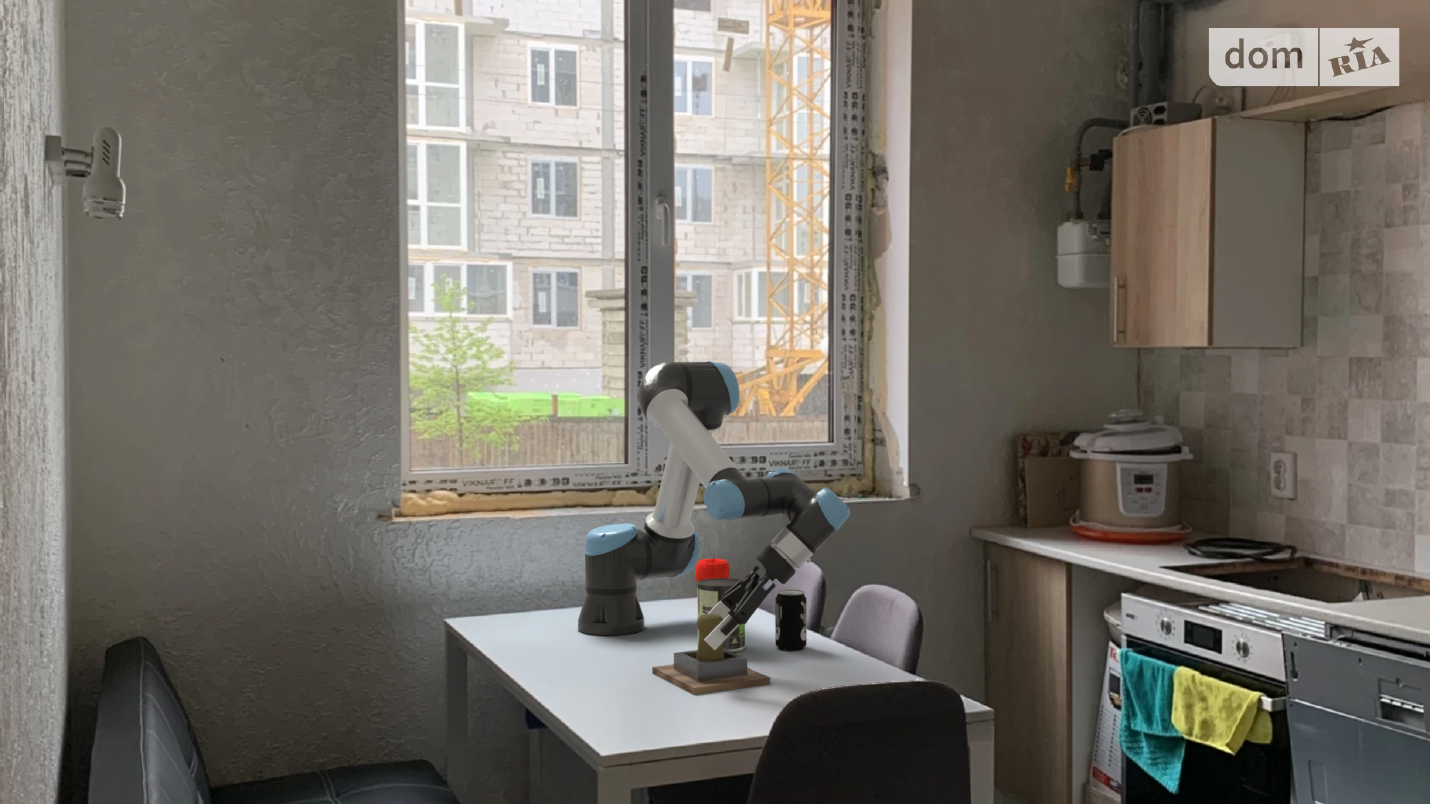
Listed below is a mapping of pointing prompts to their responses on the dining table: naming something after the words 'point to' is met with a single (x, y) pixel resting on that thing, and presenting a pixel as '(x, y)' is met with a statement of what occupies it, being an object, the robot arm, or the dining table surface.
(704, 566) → the apple
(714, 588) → the coffee can
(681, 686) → the socket plate
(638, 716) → the dining table surface
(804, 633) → the beverage can
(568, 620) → the dining table surface
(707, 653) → the cork
